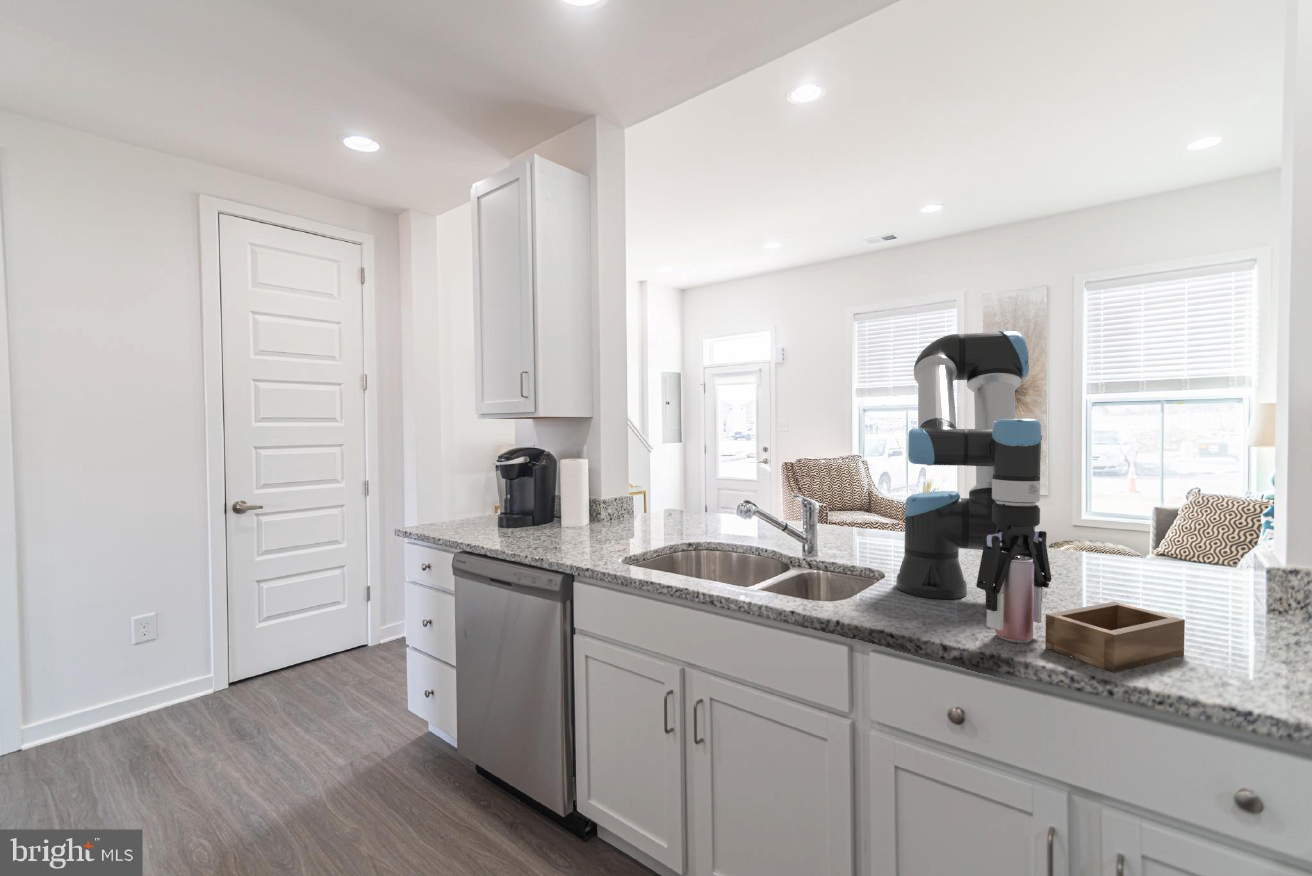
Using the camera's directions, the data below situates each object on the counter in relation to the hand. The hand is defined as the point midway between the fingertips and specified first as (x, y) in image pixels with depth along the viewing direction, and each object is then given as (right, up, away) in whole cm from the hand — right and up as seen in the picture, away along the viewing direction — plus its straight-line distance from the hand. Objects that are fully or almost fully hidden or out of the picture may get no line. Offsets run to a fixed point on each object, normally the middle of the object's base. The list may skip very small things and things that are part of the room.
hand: (1014, 624), depth 108 cm
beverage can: (0, -3, 0) cm, 3 cm away
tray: (+13, -3, -6) cm, 15 cm away
